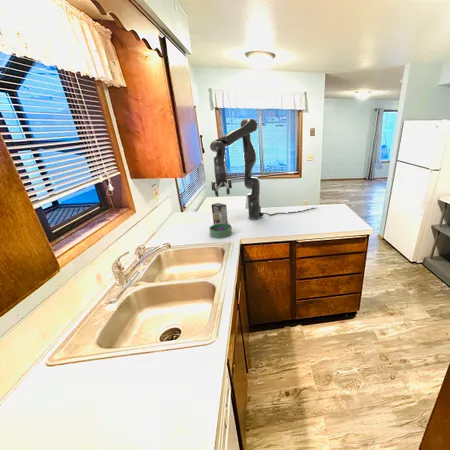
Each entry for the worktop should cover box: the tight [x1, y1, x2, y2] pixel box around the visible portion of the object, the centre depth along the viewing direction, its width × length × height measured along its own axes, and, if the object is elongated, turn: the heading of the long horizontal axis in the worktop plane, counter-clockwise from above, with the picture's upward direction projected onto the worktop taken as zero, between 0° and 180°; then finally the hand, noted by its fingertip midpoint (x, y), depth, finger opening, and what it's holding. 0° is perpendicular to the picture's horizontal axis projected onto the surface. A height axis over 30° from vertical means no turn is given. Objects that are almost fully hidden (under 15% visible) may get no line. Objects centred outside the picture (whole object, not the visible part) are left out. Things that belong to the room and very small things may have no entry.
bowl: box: [208, 223, 233, 239], centre depth 162 cm, size 14×14×6 cm
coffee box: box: [211, 202, 229, 225], centre depth 178 cm, size 9×6×16 cm
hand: (222, 195), depth 168 cm, fingers open, 8 cm apart
